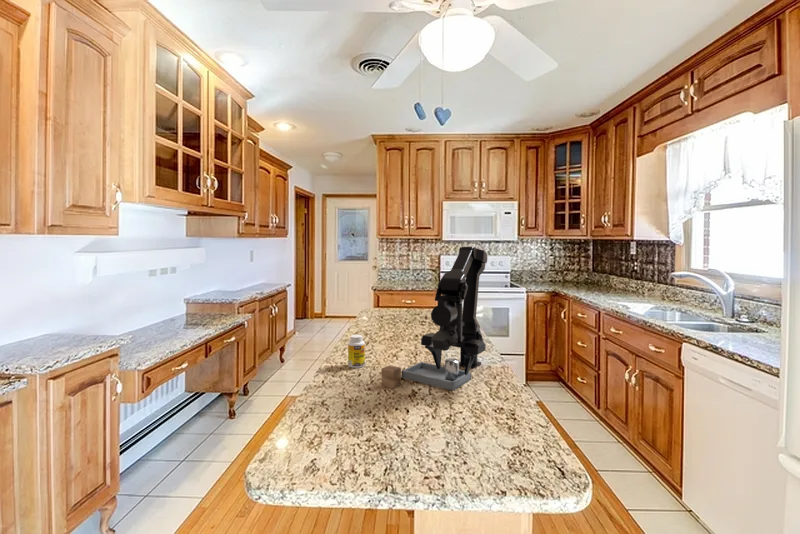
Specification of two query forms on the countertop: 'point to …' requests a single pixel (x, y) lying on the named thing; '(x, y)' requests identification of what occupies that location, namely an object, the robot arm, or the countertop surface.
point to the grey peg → (451, 369)
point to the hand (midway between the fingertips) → (452, 371)
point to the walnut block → (391, 376)
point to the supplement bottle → (356, 351)
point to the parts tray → (434, 376)
